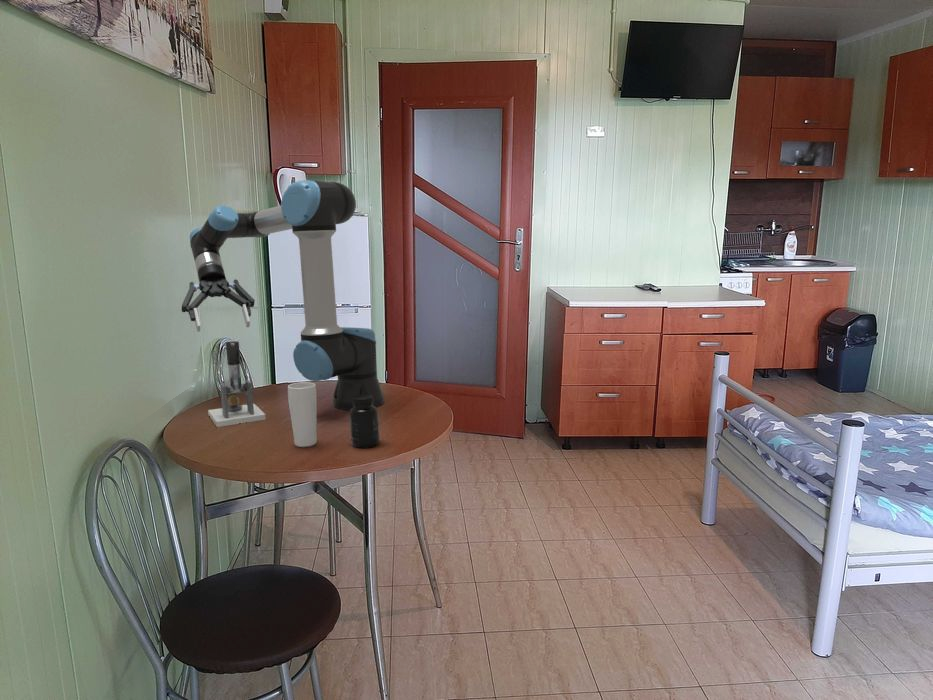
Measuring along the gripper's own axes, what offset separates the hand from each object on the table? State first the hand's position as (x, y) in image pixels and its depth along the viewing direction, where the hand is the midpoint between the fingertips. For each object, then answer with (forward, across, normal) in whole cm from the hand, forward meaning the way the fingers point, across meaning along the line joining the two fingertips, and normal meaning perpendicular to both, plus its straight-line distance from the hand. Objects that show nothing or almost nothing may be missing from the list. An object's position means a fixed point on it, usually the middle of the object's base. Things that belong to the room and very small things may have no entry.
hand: (224, 326), depth 195 cm
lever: (+17, 0, -7) cm, 19 cm away
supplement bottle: (+54, -22, +18) cm, 61 cm away
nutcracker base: (+23, 0, -12) cm, 26 cm away
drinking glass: (+48, -10, +12) cm, 50 cm away
